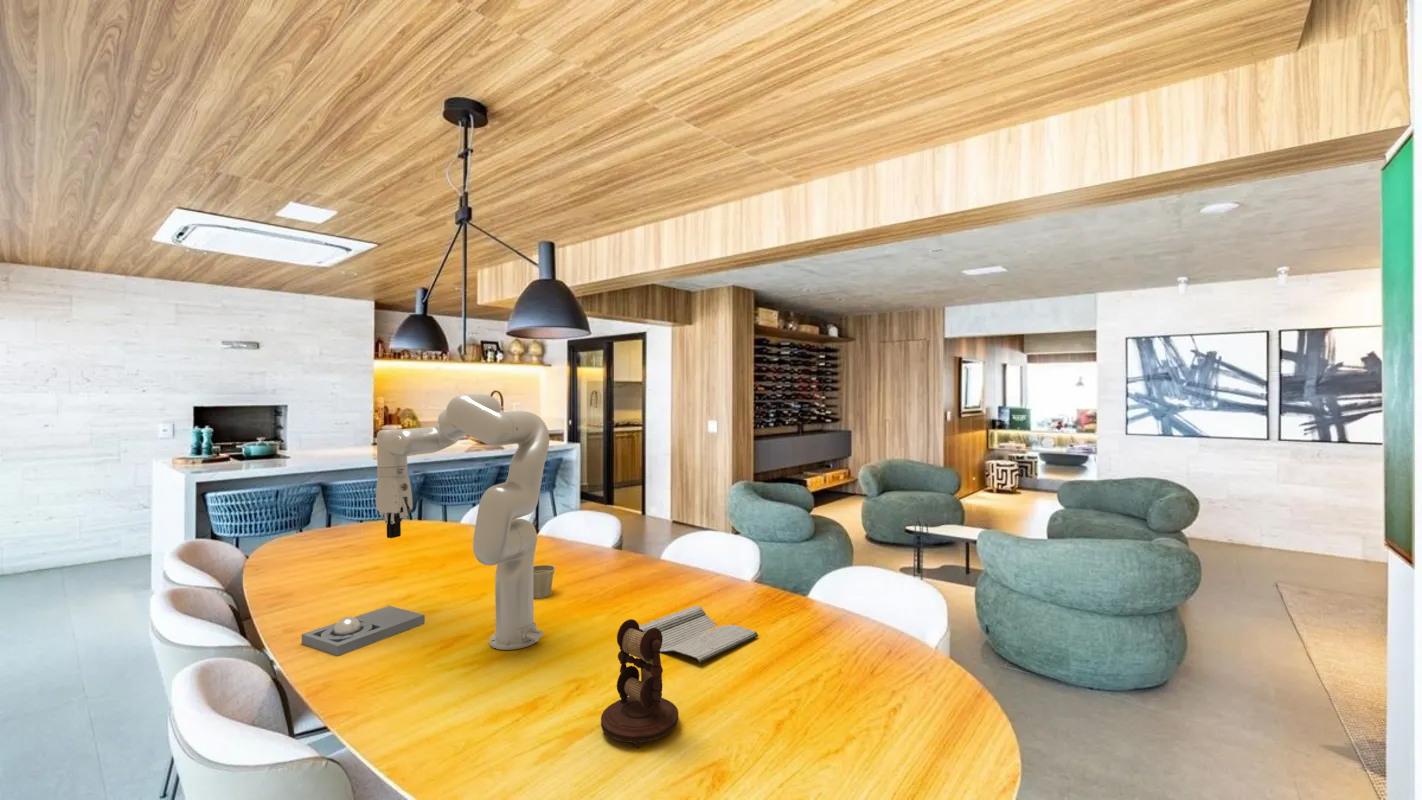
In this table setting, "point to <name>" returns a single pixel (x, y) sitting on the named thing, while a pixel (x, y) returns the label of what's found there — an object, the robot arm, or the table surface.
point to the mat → (697, 634)
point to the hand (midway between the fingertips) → (393, 536)
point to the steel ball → (347, 626)
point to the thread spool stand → (639, 690)
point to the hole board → (364, 630)
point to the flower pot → (542, 580)
